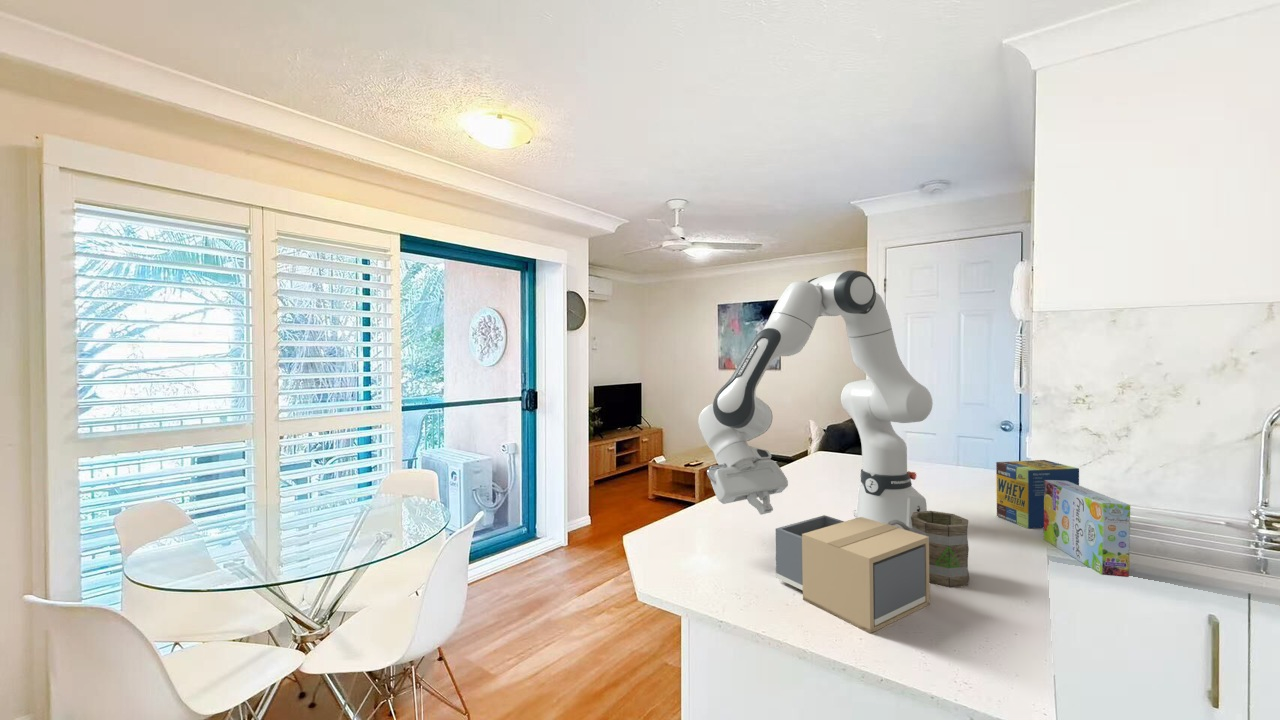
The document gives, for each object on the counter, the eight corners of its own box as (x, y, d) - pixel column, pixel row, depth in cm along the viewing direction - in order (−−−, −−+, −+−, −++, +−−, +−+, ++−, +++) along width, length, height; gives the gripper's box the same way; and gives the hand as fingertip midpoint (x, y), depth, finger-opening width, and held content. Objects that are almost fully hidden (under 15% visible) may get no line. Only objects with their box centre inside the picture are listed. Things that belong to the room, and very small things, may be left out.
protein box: (995, 516, 142) (995, 461, 142) (1045, 513, 144) (1044, 459, 144) (1028, 529, 132) (1027, 469, 132) (1081, 526, 134) (1080, 467, 134)
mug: (959, 567, 109) (958, 512, 109) (980, 590, 99) (979, 528, 99) (880, 561, 113) (879, 508, 113) (893, 583, 102) (892, 524, 102)
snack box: (1133, 578, 103) (1132, 504, 103) (1101, 576, 104) (1100, 503, 104) (1067, 540, 124) (1067, 479, 124) (1041, 539, 125) (1041, 478, 125)
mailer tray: (825, 560, 112) (824, 515, 111) (925, 601, 93) (924, 546, 93) (776, 577, 104) (775, 528, 103) (875, 625, 85) (874, 565, 85)
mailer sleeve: (861, 576, 105) (861, 516, 105) (929, 603, 94) (929, 536, 93) (802, 599, 96) (801, 533, 96) (870, 633, 84) (869, 558, 84)
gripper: (710, 459, 116) (739, 512, 108) (773, 450, 127) (805, 498, 119) (698, 474, 120) (725, 527, 112) (760, 464, 131) (790, 512, 122)
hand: (767, 512), depth 115 cm, fingers closed
